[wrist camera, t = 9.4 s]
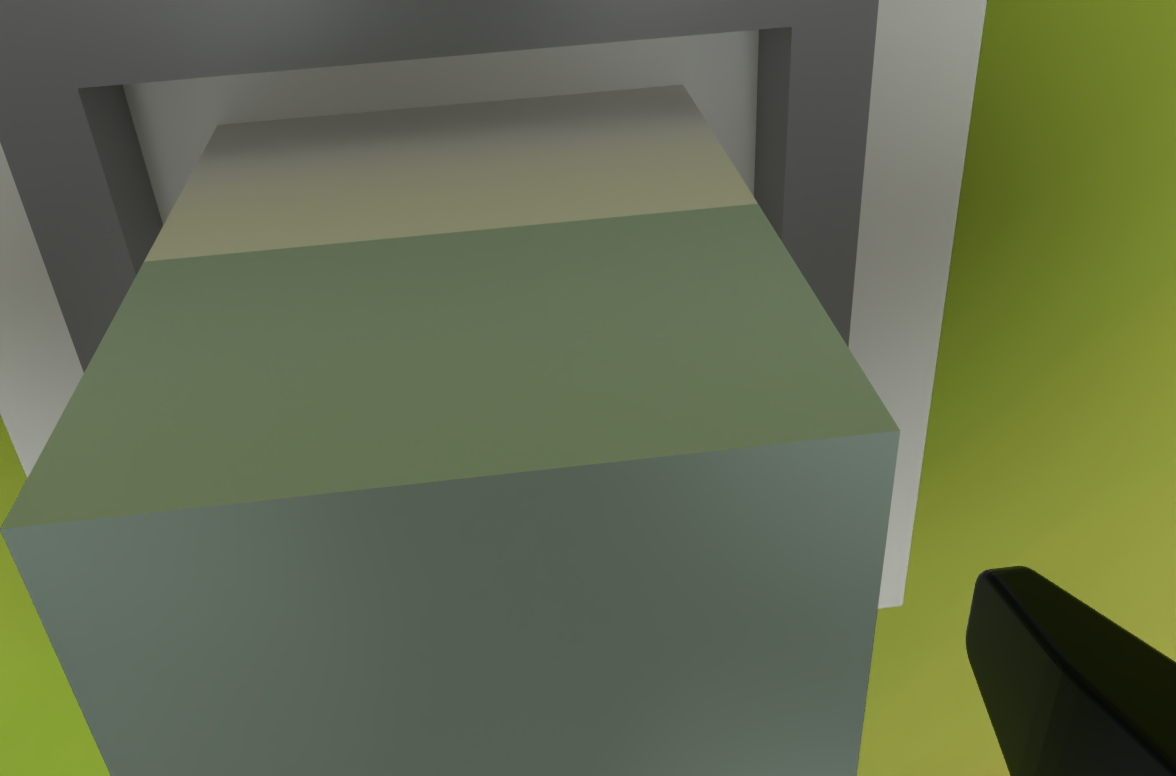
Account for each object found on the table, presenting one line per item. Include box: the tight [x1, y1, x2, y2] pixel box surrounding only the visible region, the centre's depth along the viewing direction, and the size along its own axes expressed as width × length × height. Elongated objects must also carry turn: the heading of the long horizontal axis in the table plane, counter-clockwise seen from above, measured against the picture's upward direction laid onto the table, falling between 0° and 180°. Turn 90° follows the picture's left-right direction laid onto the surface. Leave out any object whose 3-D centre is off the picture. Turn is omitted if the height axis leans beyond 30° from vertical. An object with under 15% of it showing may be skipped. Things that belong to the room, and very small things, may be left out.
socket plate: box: [0, 0, 987, 609], centre depth 15 cm, size 14×14×3 cm
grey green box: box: [0, 85, 900, 776], centre depth 12 cm, size 6×6×8 cm
